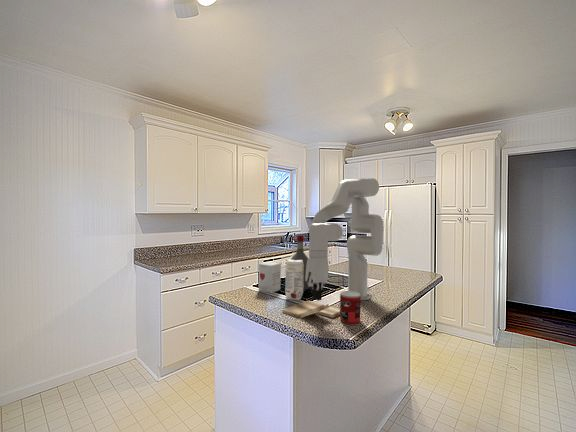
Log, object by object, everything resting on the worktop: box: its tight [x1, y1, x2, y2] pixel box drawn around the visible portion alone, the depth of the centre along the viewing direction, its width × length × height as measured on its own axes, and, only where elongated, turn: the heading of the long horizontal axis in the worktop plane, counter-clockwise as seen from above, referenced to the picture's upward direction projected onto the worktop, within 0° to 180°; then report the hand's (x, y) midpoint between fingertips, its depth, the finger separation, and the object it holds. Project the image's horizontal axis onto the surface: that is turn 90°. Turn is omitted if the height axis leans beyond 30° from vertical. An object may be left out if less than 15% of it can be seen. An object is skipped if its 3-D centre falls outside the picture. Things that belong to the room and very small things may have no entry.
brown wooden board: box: [282, 300, 325, 319], centre depth 128 cm, size 18×9×1 cm, turn 137°
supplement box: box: [258, 261, 282, 294], centre depth 159 cm, size 9×9×15 cm
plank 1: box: [300, 304, 330, 319], centre depth 119 cm, size 8×10×1 cm
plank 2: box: [316, 305, 340, 319], centre depth 125 cm, size 8×10×1 cm
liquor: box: [290, 234, 310, 291], centre depth 164 cm, size 9×9×30 cm
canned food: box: [339, 290, 362, 325], centre depth 116 cm, size 8×8×11 cm
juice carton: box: [284, 258, 304, 301], centre depth 145 cm, size 8×9×19 cm
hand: (317, 299), depth 117 cm, fingers closed
